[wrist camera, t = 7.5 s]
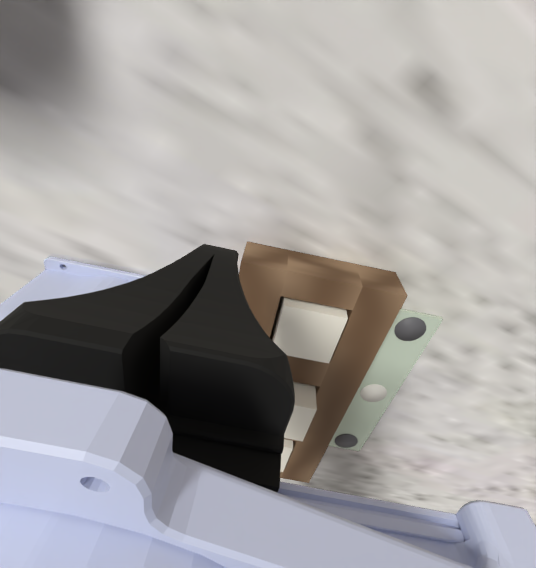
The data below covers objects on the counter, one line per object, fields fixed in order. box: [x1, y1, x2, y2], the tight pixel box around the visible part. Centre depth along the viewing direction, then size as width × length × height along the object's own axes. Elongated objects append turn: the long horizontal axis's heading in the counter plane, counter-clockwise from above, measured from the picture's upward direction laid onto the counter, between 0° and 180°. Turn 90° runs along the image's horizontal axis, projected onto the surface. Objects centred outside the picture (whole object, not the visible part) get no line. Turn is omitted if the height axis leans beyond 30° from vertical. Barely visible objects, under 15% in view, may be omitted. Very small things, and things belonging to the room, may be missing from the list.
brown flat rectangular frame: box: [239, 242, 407, 483], centre depth 29 cm, size 11×25×3 cm, turn 169°
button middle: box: [284, 382, 317, 441], centre depth 27 cm, size 4×4×3 cm
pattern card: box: [328, 309, 443, 451], centre depth 30 cm, size 4×19×1 cm, turn 169°
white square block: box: [272, 296, 348, 363], centre depth 24 cm, size 4×4×3 cm
